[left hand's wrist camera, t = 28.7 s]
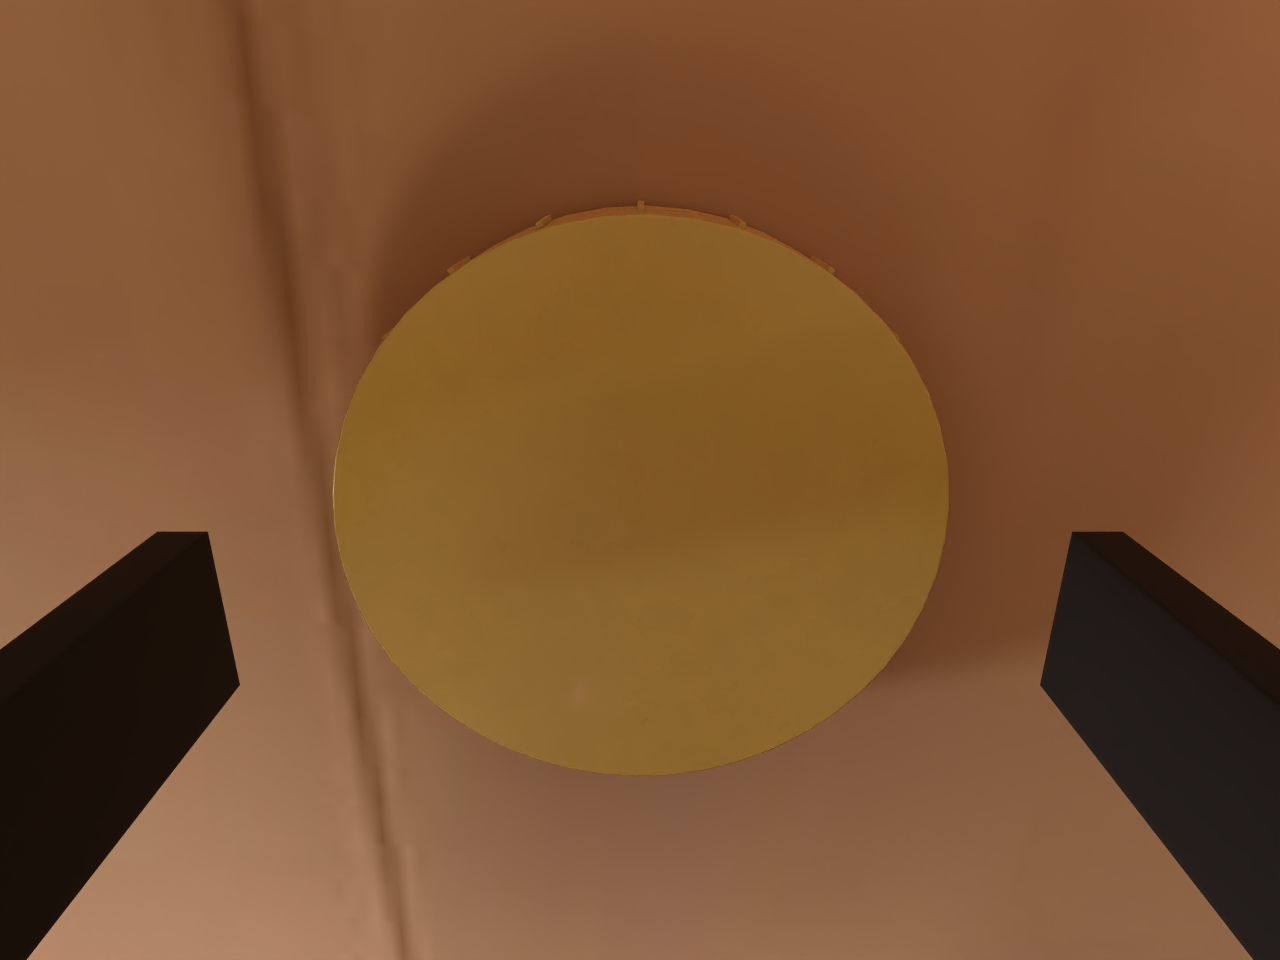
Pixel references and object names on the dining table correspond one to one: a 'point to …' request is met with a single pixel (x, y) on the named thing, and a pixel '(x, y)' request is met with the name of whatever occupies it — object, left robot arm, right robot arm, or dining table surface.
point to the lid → (640, 492)
